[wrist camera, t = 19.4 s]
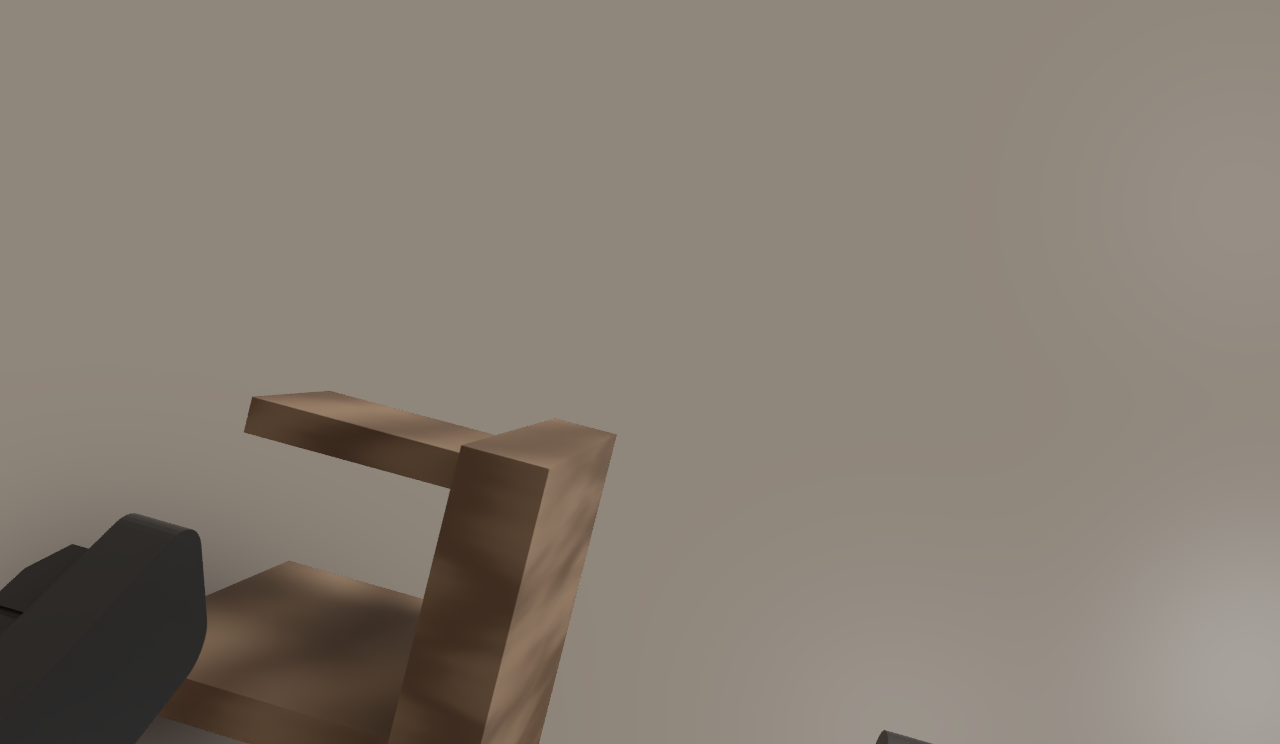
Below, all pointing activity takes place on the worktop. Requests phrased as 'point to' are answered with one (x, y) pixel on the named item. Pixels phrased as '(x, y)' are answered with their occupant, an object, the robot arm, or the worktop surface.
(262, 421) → the rack
